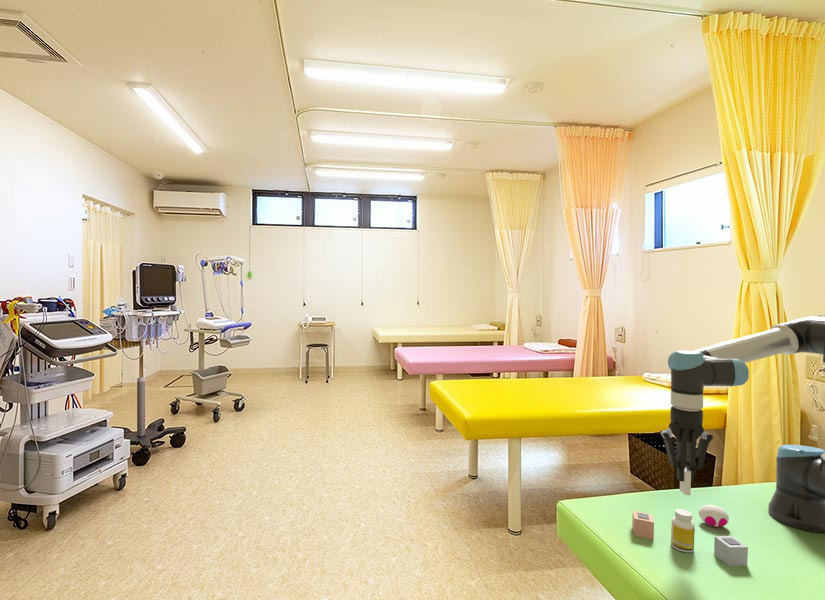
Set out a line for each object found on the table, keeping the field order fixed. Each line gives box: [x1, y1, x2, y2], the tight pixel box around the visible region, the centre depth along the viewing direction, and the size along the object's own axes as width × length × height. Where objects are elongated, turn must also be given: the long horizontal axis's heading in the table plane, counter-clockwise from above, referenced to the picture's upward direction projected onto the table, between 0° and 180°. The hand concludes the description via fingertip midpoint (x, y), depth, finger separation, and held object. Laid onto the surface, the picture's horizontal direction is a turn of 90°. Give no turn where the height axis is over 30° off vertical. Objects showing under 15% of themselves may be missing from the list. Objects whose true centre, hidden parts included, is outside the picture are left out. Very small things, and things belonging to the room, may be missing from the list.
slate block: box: [713, 535, 749, 567], centre depth 113 cm, size 5×5×5 cm
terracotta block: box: [631, 510, 655, 540], centre depth 125 cm, size 5×5×5 cm
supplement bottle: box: [670, 508, 696, 553], centre depth 118 cm, size 5×5×10 cm
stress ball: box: [698, 504, 730, 531], centre depth 130 cm, size 8×8×7 cm
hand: (685, 492), depth 118 cm, fingers closed
